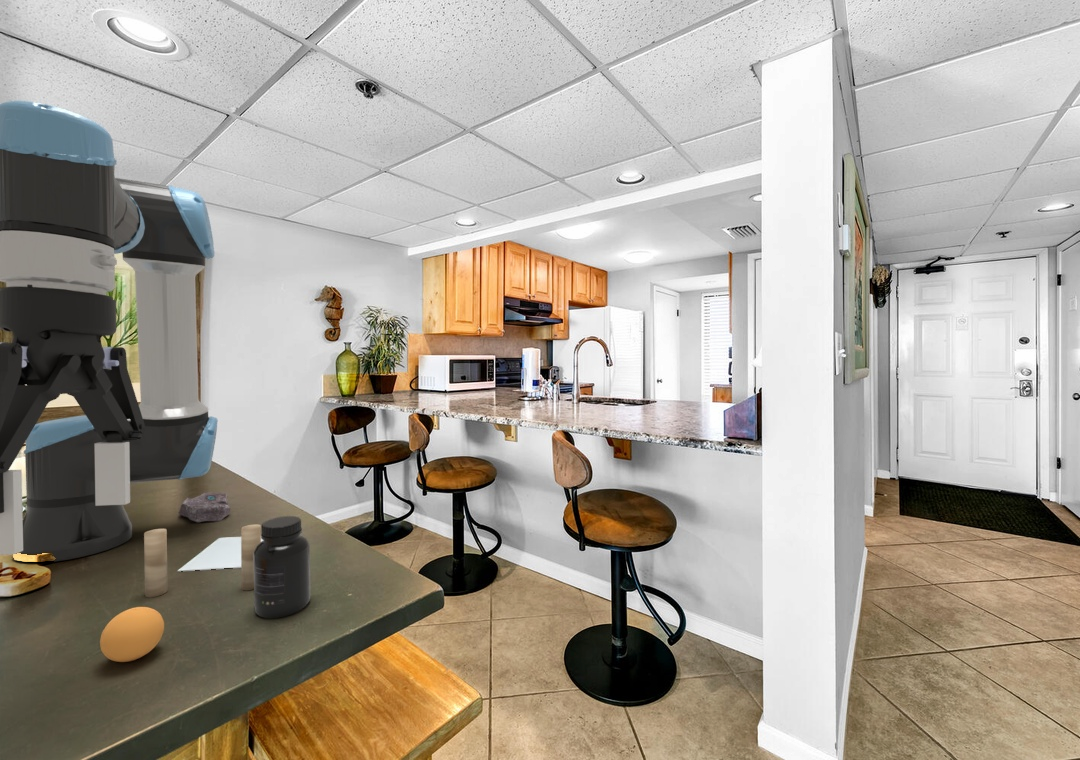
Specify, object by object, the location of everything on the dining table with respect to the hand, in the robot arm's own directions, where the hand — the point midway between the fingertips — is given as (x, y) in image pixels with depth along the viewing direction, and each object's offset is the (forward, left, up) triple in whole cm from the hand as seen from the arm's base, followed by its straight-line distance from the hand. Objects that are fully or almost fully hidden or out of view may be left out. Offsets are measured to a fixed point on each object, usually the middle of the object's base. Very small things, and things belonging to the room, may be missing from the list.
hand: (64, 525), depth 43 cm
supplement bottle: (-19, +12, -19) cm, 29 cm away
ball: (-10, 0, -16) cm, 19 cm away
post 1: (-26, -7, -19) cm, 32 cm away
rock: (-62, -16, -19) cm, 67 cm away
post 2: (-26, +6, -19) cm, 32 cm away
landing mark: (-40, 0, -19) cm, 44 cm away
